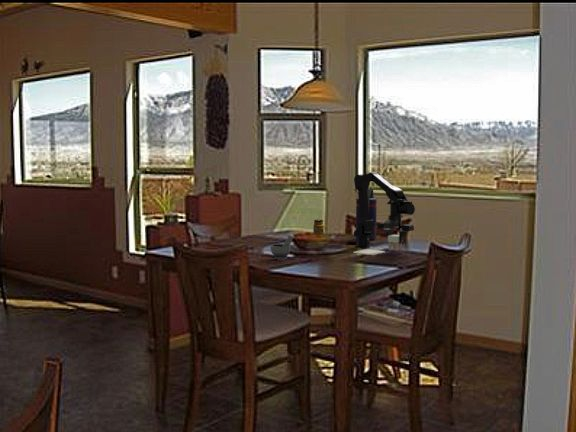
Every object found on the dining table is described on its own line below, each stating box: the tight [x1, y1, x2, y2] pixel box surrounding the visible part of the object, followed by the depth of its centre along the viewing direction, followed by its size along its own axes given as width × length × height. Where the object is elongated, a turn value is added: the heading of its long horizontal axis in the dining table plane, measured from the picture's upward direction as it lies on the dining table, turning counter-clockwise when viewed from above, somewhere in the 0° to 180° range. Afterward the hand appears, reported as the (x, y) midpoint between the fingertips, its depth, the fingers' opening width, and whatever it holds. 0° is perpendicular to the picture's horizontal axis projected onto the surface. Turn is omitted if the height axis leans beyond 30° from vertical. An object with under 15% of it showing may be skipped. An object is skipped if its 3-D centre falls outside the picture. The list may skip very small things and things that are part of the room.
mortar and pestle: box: [270, 234, 294, 261], centre depth 340 cm, size 11×9×12 cm
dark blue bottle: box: [355, 188, 378, 241], centre depth 406 cm, size 14×12×30 cm
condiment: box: [312, 219, 325, 234], centre depth 404 cm, size 7×8×12 cm
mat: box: [353, 248, 386, 256], centre depth 360 cm, size 12×12×1 cm
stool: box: [387, 234, 404, 252], centre depth 360 cm, size 6×6×8 cm
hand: (395, 243), depth 360 cm, fingers closed on stool, 5 cm apart
